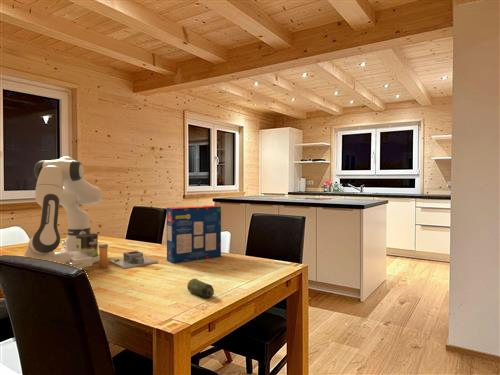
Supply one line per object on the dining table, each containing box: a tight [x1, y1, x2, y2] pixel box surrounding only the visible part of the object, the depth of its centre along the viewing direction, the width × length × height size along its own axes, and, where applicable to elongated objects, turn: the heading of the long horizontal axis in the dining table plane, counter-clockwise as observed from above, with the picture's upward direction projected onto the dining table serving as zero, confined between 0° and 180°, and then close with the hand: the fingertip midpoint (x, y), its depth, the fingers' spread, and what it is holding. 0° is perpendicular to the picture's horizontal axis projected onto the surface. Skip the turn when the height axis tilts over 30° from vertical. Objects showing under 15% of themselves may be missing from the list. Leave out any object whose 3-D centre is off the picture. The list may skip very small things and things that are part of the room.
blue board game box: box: [166, 205, 222, 264], centre depth 186 cm, size 28×8×28 cm, turn 124°
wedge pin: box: [98, 243, 109, 270], centre depth 167 cm, size 4×4×11 cm
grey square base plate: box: [108, 250, 159, 270], centre depth 177 cm, size 18×18×5 cm
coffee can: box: [76, 233, 99, 264], centre depth 178 cm, size 10×10×14 cm
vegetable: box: [186, 278, 215, 299], centre depth 127 cm, size 14×5×5 cm, turn 41°
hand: (95, 256), depth 165 cm, fingers open, 8 cm apart
